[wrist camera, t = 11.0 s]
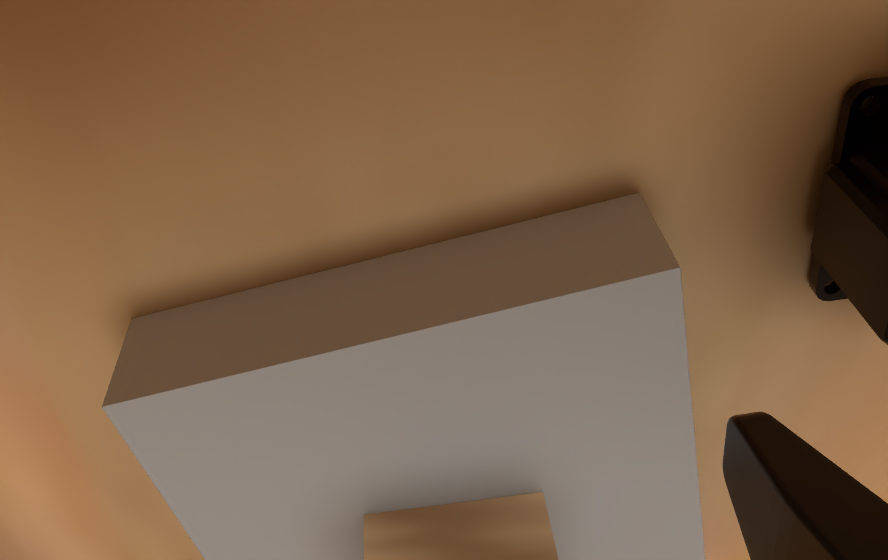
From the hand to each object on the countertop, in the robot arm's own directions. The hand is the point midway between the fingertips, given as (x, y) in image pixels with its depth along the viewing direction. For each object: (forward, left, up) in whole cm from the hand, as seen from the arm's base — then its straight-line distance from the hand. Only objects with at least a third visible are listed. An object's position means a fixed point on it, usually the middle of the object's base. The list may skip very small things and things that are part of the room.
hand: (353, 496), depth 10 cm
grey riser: (-1, +14, -13) cm, 19 cm away
